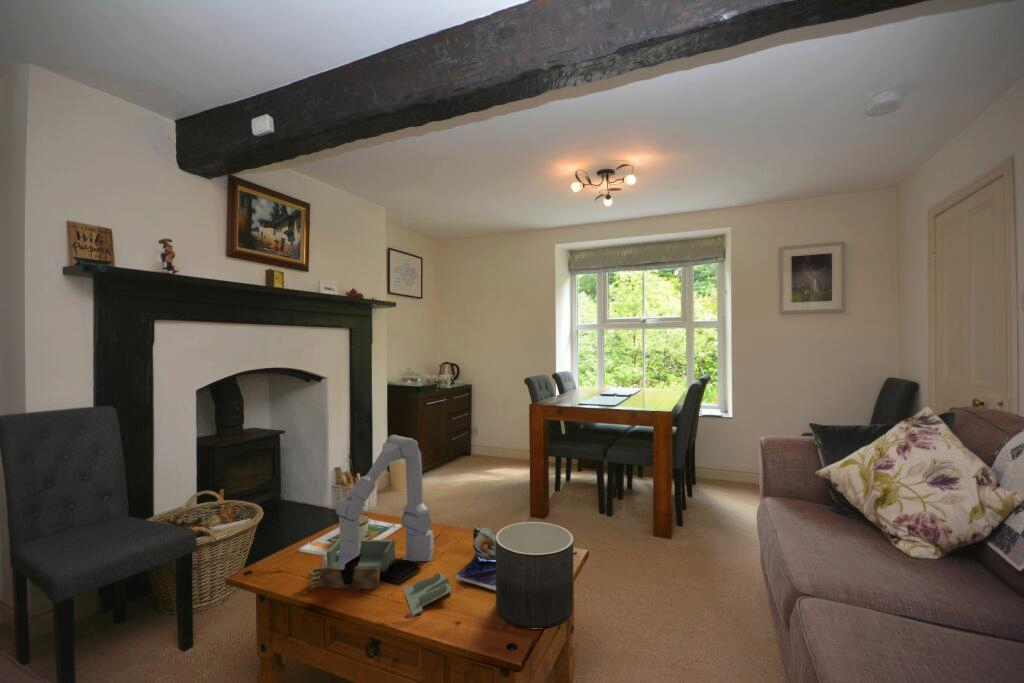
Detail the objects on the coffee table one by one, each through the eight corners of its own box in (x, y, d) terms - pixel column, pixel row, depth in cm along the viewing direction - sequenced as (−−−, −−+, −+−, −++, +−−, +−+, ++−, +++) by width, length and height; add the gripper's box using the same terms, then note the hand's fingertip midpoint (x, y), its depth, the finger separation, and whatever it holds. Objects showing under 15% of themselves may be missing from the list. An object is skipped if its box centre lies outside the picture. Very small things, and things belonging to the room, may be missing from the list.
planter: (551, 641, 118) (551, 562, 118) (480, 614, 130) (480, 542, 130) (585, 600, 137) (585, 531, 137) (521, 579, 148) (521, 516, 148)
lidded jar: (333, 544, 174) (333, 519, 174) (348, 533, 184) (348, 509, 184) (360, 546, 172) (360, 521, 172) (373, 534, 183) (373, 511, 183)
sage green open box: (395, 558, 163) (395, 540, 163) (383, 577, 150) (383, 557, 150) (338, 557, 163) (338, 539, 163) (322, 576, 150) (322, 556, 150)
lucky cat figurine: (520, 561, 160) (511, 533, 154) (490, 582, 156) (480, 554, 150) (499, 534, 173) (490, 507, 166) (470, 552, 168) (460, 525, 162)
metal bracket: (441, 563, 147) (454, 586, 134) (446, 580, 148) (460, 604, 134) (396, 586, 142) (406, 612, 128) (402, 603, 143) (412, 630, 129)
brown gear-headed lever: (380, 583, 146) (380, 564, 146) (376, 590, 142) (376, 571, 142) (313, 582, 147) (313, 563, 147) (306, 589, 143) (306, 570, 143)
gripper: (345, 528, 152) (345, 569, 152) (326, 548, 137) (326, 594, 137) (367, 528, 152) (367, 570, 152) (350, 548, 137) (350, 594, 137)
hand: (349, 581), depth 144 cm, fingers closed on brown gear-headed lever, 2 cm apart
